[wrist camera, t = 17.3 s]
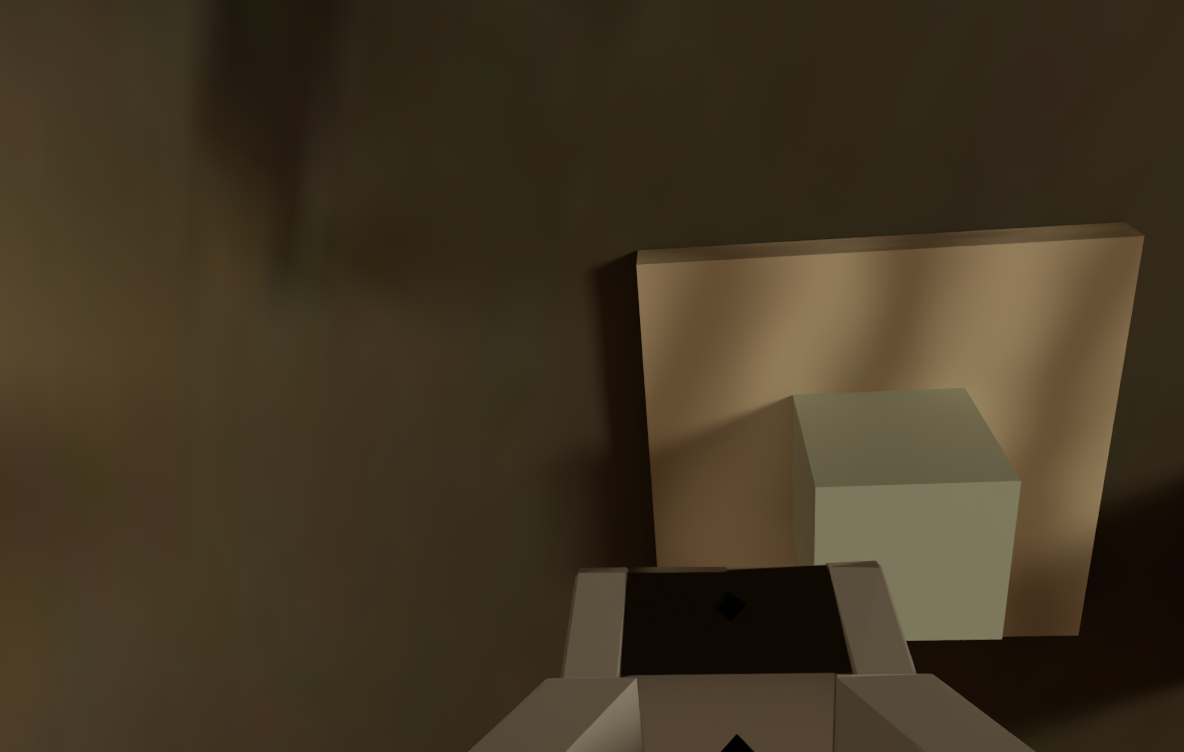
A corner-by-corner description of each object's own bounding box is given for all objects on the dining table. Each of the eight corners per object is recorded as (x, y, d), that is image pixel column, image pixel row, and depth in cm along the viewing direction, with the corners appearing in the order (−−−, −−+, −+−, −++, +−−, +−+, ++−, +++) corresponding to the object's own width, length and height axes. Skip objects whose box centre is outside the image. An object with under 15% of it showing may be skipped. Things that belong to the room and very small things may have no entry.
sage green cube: (964, 387, 33) (1021, 480, 28) (952, 528, 36) (1001, 639, 30) (792, 394, 34) (815, 487, 28) (792, 532, 36) (813, 642, 31)
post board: (1124, 222, 32) (1220, 288, 26) (1064, 609, 39) (1129, 728, 33) (637, 250, 33) (630, 318, 28) (662, 617, 40) (661, 731, 35)
